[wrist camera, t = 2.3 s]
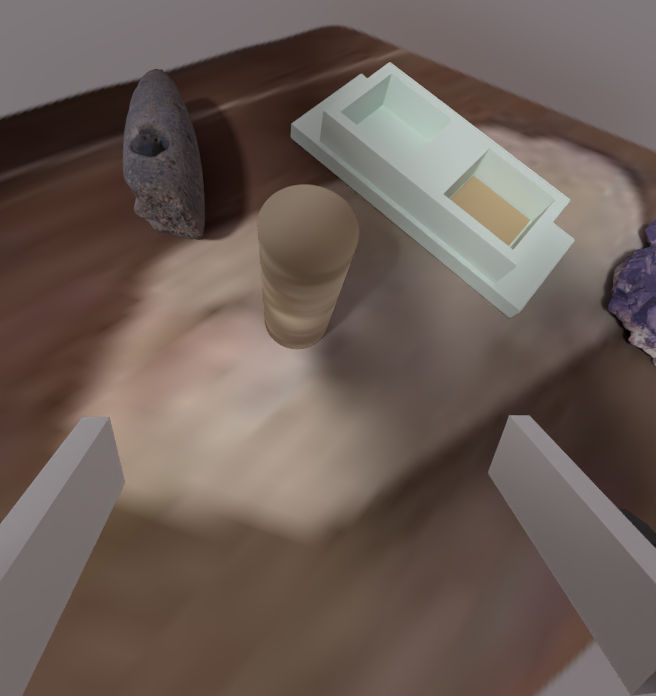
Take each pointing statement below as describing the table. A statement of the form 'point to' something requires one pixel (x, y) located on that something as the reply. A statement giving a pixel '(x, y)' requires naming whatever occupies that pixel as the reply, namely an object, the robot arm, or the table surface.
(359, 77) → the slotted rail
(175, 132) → the perforated stone tool
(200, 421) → the table surface
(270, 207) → the birch peg
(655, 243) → the mineral specimen
